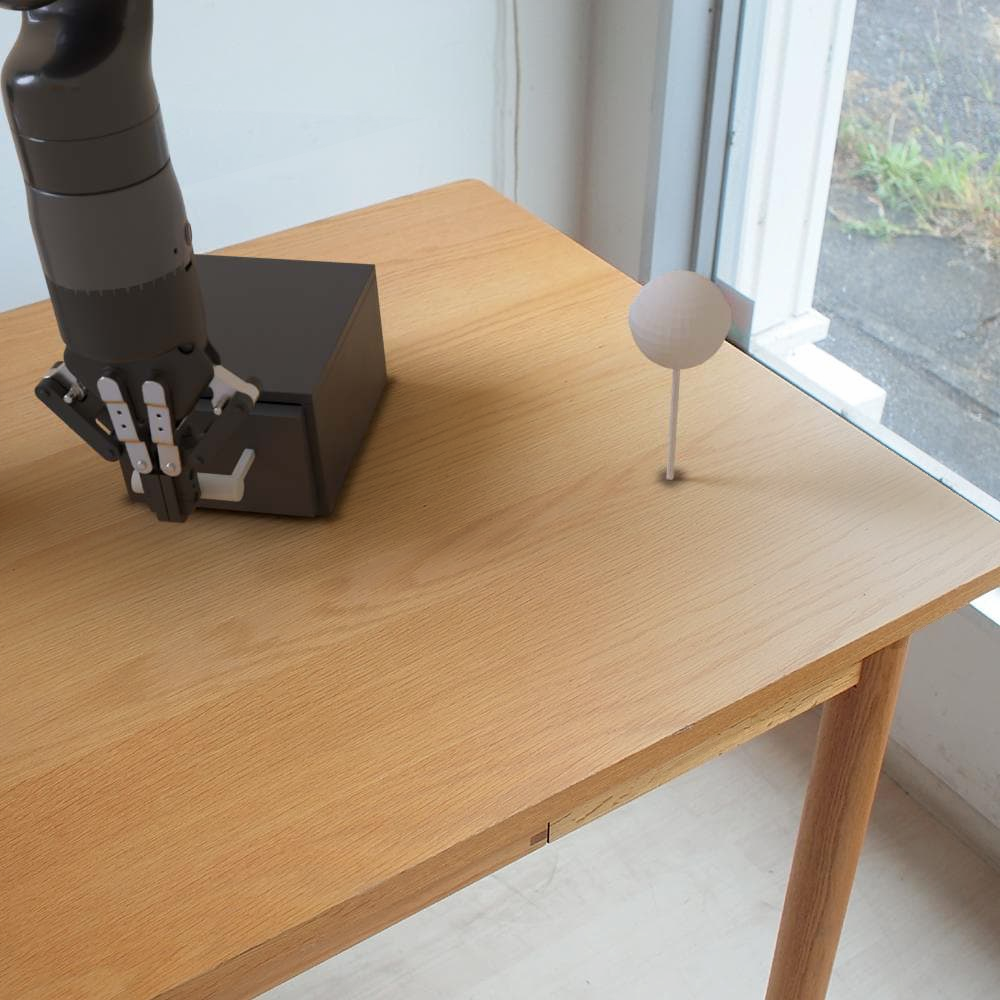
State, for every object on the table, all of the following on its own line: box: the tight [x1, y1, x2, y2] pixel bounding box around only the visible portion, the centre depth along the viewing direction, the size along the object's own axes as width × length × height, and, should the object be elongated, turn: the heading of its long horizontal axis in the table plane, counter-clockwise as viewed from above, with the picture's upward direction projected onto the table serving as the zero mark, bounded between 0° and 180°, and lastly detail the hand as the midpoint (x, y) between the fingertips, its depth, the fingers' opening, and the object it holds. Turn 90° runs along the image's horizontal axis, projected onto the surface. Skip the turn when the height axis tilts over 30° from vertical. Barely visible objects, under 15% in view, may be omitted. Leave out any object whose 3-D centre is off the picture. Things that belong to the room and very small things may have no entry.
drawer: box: [118, 399, 319, 518], centre depth 86 cm, size 19×12×8 cm, turn 170°
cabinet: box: [194, 253, 388, 517], centre depth 89 cm, size 16×14×10 cm
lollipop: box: [627, 269, 733, 481], centre depth 82 cm, size 6×6×15 cm
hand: (178, 513), depth 78 cm, fingers closed
